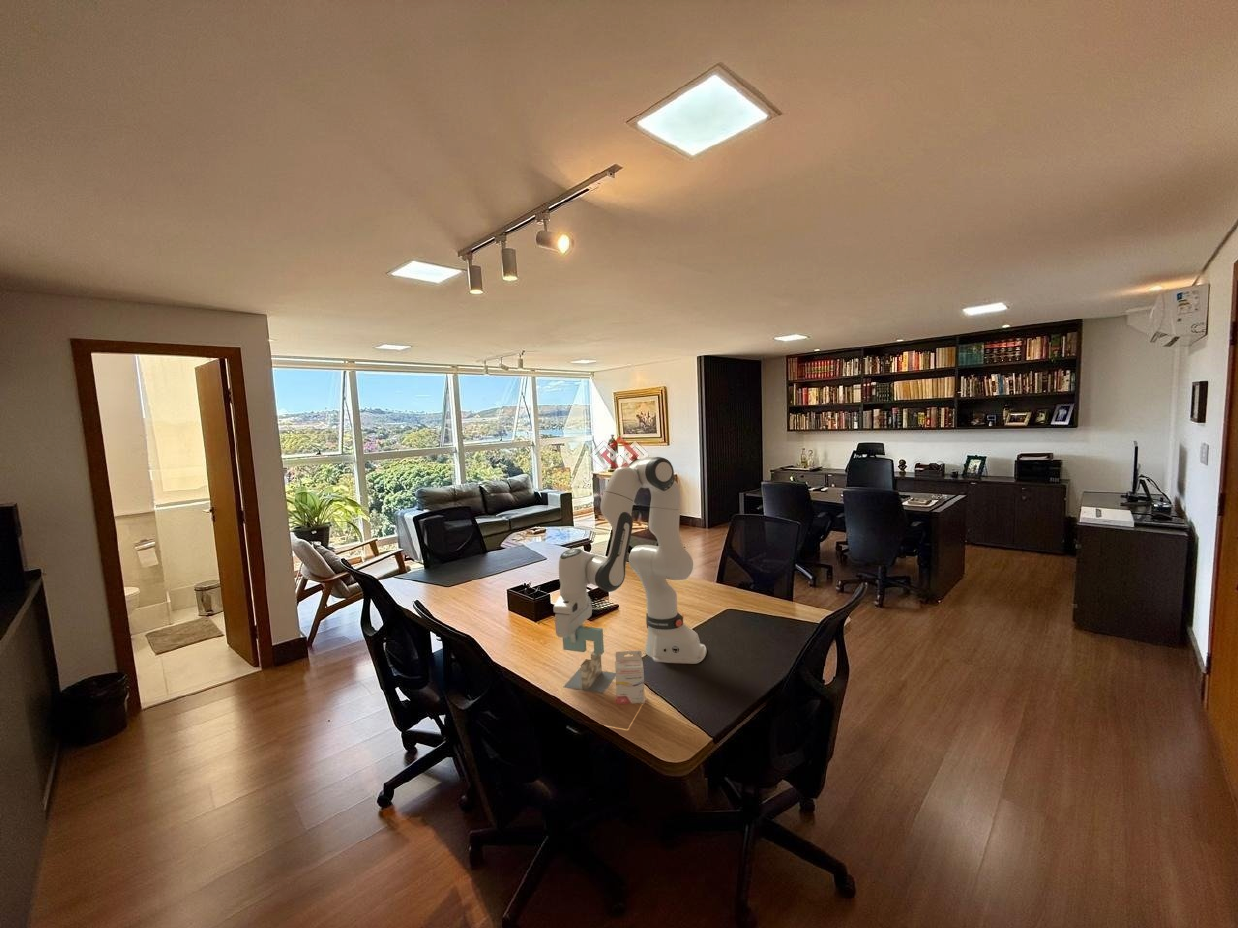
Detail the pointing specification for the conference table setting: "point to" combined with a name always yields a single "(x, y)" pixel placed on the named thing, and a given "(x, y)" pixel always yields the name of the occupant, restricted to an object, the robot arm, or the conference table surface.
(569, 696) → the conference table surface
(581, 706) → the conference table surface
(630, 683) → the ink cartridge box
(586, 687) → the stone wall model
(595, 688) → the felt mat
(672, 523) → the robot arm
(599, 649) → the teal plate
